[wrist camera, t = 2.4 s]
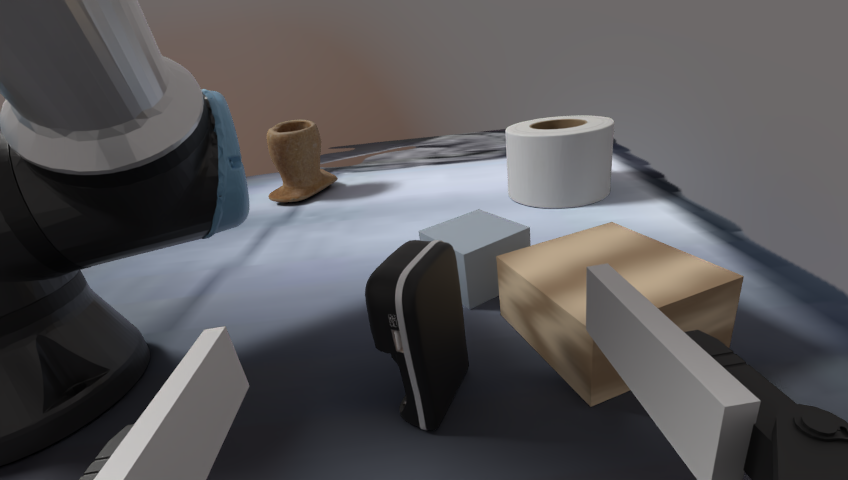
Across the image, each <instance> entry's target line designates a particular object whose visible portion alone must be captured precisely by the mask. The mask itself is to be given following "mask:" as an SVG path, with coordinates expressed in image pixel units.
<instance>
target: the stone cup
mask: <svg viewBox="0 0 848 480" xmlns="http://www.w3.org/2000/svg"><path fill="white" fill-rule="evenodd" d="M267 144H268V149H269V153H270V156H271V158H272V161H273V163H274V165H275V166H276V168H277V170H278V171H279V173H280V175H281V177H282V180H283V186H281V187H280V188H278V189H276V190H275V191H273V192H271V193H270V194H269V199H270V200H272V201H276V202H295V201H301V200H304V199H306V198H308V197H310V196H312V195H314V194H316V193H318V192H319V191H321V190H323V189H324V188H326V187H328V186H329V185H331V184H332V183H334V182H335V181H337V177H336V176H335V175H333V174H331V173H329V172H326V171H325V170H322V169H320V152H321V139H320V134H319V131H318V128H317V126H316V124H315V123H314V122H311V121H308V120H290V121H286V122H281V123H279V124H277V125H276V126H274V127H273V128H271V129H269V130H268V132H267Z"/></svg>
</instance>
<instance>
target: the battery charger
mask: <svg viewBox="0 0 848 480" xmlns="http://www.w3.org/2000/svg"><path fill="white" fill-rule="evenodd" d="M365 297H366V305H367V311H368V317H369V322H370V327H371V332H372V335H373V339H374V342H375V346H376V348H377V349H378V350H380V351H382V352H385V353H390V354H391V355H392V358H393V359H394V360H395V362H396V363H397V364H398V366H399V368H400V372H401V376H402V380H403V383H404V387H405V392H406V395H405V397H404V398H403V400H402V402H401V404H400V407H399V410H400V414H401V416H402V418H403V419H404V420H405V421H406V422H408V423H410V424H412V425H414V426H418V427H420V428H421V429H423V430H432V431H434V430H436V429H437V428H438V426H439V425H440V423H441V421H442V419H443V417H444V415H445V413H446V411H447V409H448V407H449V406H450V404H451V402H452V400H453V398H454V396H455V394H456V392H457V390H458V388H459V386H460V384H461V382H462V380H463V378H464V376H465V374H466V372H467V370H468V367H469V362H468V354H467V347H466V339H465V329H464V318H463V308H462V299H461V290H460V282H459V274H458V267H457V260H456V255H455V251H454V249H453V246H452V245H451V244H449V243H447V242H443V241H441V240H433V241H419V240H413V241H408V242H406V243H405V244H403V245H402V246H400V247H399V248H398V249H397V250H396V251H395V252H393V253H392V254H391V255H390V256H389V257H388V258H387V259H386V260H385V261H384V262H383V263H382V264H381V265H380V266H378V267H377V268H376V270H375V271H374V272H373V273H372V274H371V276H370V277H369V279H368V281H367V284H366V289H365Z"/></svg>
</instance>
